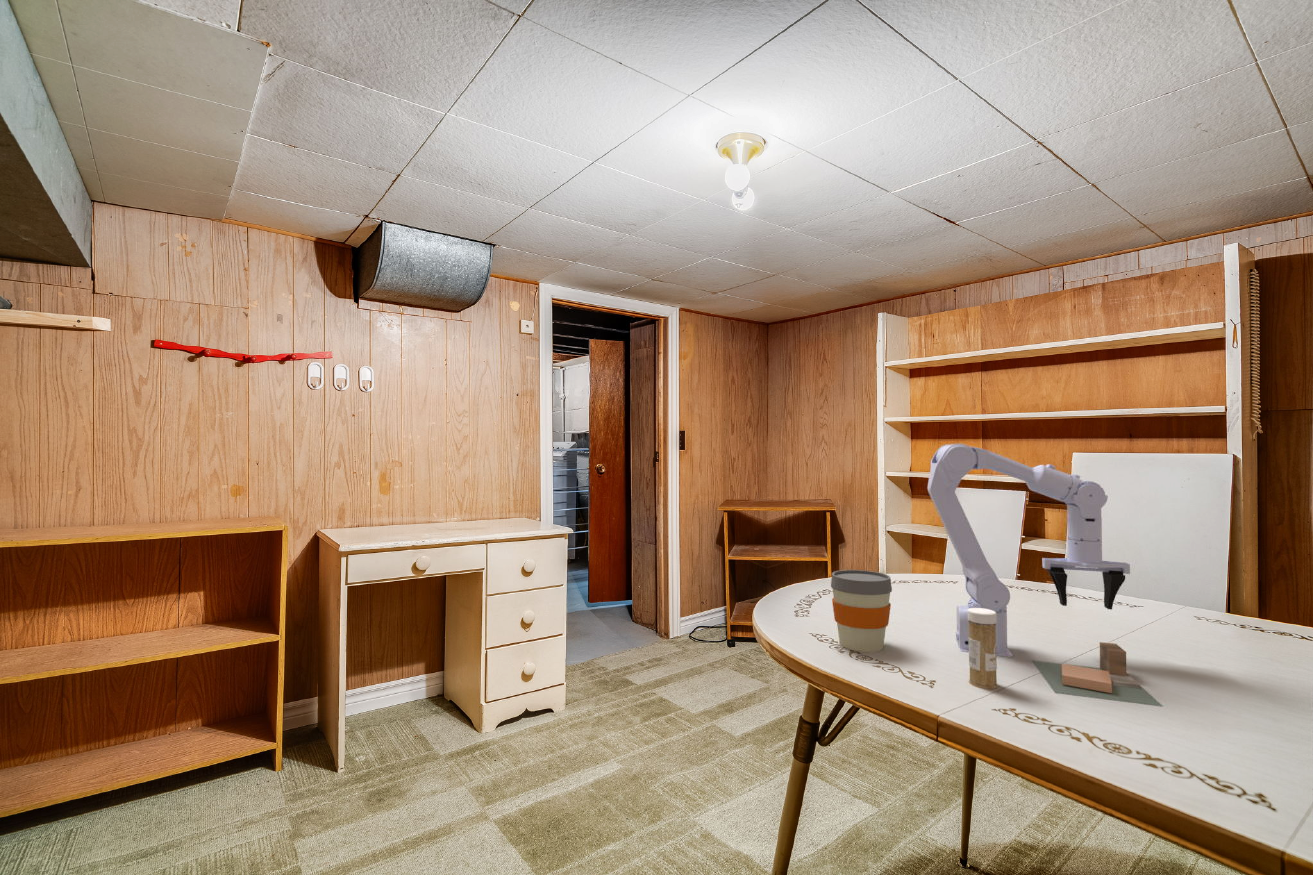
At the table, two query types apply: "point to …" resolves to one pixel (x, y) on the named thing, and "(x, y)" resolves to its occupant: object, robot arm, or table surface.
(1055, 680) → the mat
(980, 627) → the sprinkles bottle
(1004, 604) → the robot arm
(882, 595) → the reusable coffee cup
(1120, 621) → the table surface
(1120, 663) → the two-tone block stack
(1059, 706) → the table surface
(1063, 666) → the tile
